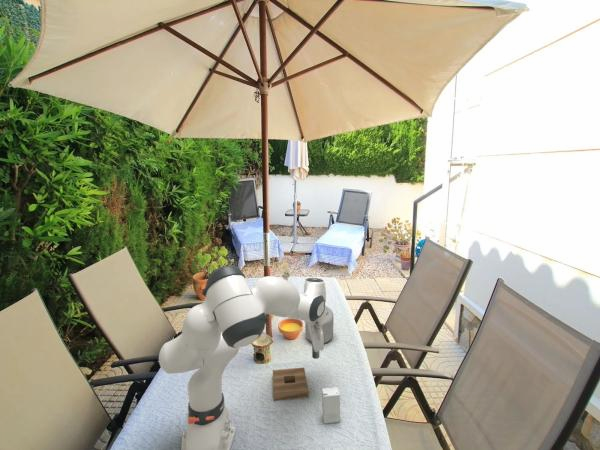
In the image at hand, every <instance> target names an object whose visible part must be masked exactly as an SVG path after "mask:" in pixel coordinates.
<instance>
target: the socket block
mask: <svg viewBox="0 0 600 450" xmlns="http://www.w3.org/2000/svg"><path fill="white" fill-rule="evenodd" d="M306 375H307V374H306V370H305V367H295V368H292V367H291V368H284V369H273V370H272V391H273V392H272V393H273V401H280V400H281V401H282V400H283V401H284V400H293V399H294V400H295V399H305V398H309V388H308V381H307V376H306Z"/></svg>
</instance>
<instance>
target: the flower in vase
mask: <svg viewBox="0 0 600 450" xmlns="http://www.w3.org/2000/svg"><path fill="white" fill-rule="evenodd" d="M289 266H290V265H289V263H288V262H287V261H284V262H282V263H281V265H280V268H279V269H280V270H279V271H280V272H281V273H282V275H281V278H282V279H285V280H287V281H289V280H288V279H289V277H291V275H290V272H289V271H288V270H289V268H290V267H289Z"/></svg>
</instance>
